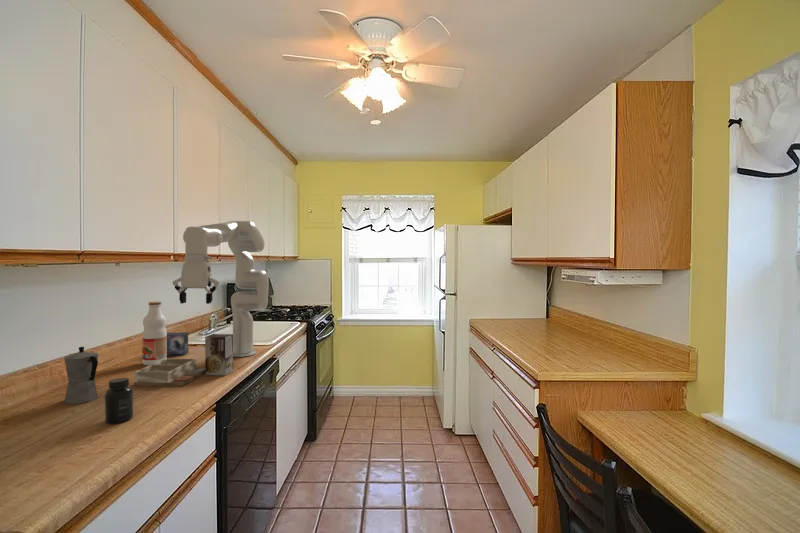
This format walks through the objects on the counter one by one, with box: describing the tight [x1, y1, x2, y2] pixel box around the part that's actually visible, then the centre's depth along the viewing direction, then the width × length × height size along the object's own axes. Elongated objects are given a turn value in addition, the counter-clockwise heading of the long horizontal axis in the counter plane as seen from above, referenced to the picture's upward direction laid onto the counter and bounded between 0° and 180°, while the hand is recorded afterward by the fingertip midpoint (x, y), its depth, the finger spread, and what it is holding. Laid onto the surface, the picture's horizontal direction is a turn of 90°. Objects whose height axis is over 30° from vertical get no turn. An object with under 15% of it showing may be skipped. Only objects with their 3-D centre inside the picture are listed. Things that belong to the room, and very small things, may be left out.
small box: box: [167, 331, 189, 357], centre depth 192 cm, size 11×6×10 cm, turn 102°
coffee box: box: [204, 333, 234, 376], centre depth 162 cm, size 9×6×16 cm
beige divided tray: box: [134, 357, 205, 387], centre depth 155 cm, size 20×18×5 cm
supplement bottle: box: [104, 377, 134, 425], centre depth 115 cm, size 7×7×12 cm
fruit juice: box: [141, 301, 168, 366], centre depth 175 cm, size 9×9×28 cm
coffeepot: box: [63, 346, 99, 405], centre depth 130 cm, size 15×9×18 cm, turn 65°
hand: (196, 303), depth 148 cm, fingers open, 9 cm apart
